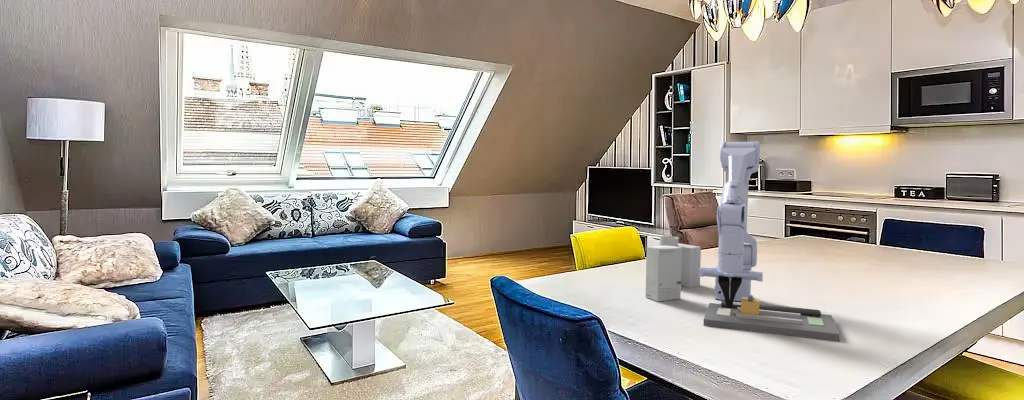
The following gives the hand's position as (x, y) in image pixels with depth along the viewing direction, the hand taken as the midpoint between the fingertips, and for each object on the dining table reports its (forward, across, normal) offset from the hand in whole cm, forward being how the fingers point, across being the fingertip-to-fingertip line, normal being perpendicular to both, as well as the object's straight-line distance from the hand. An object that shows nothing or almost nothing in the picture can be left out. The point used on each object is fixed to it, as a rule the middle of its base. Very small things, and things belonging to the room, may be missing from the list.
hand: (729, 307), depth 137 cm
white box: (+3, -19, +32) cm, 37 cm away
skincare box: (+3, -18, +14) cm, 23 cm away
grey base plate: (+3, +9, 0) cm, 9 cm away
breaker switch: (+1, +5, 0) cm, 5 cm away
